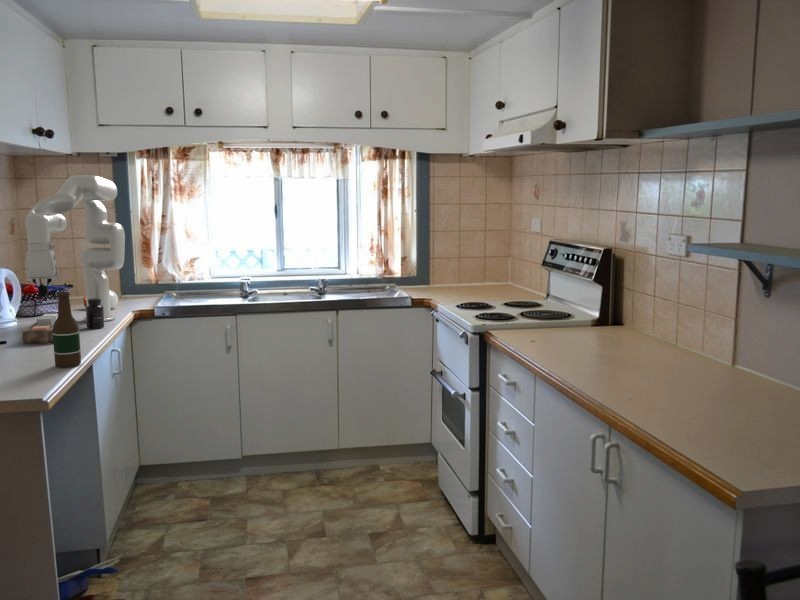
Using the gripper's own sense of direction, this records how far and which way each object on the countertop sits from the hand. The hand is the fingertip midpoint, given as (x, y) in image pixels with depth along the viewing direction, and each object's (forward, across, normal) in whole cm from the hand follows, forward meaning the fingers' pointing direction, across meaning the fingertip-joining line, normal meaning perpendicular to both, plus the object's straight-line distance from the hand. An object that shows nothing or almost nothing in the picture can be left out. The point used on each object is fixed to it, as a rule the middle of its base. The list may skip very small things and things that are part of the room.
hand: (43, 296), depth 268 cm
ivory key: (+13, 0, -8) cm, 15 cm away
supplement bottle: (+17, -14, -19) cm, 29 cm away
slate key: (+13, 0, -1) cm, 13 cm away
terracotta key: (+15, 0, +6) cm, 16 cm away
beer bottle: (+16, -17, +47) cm, 53 cm away
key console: (+16, 0, 0) cm, 17 cm away
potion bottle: (+18, -8, -68) cm, 71 cm away
